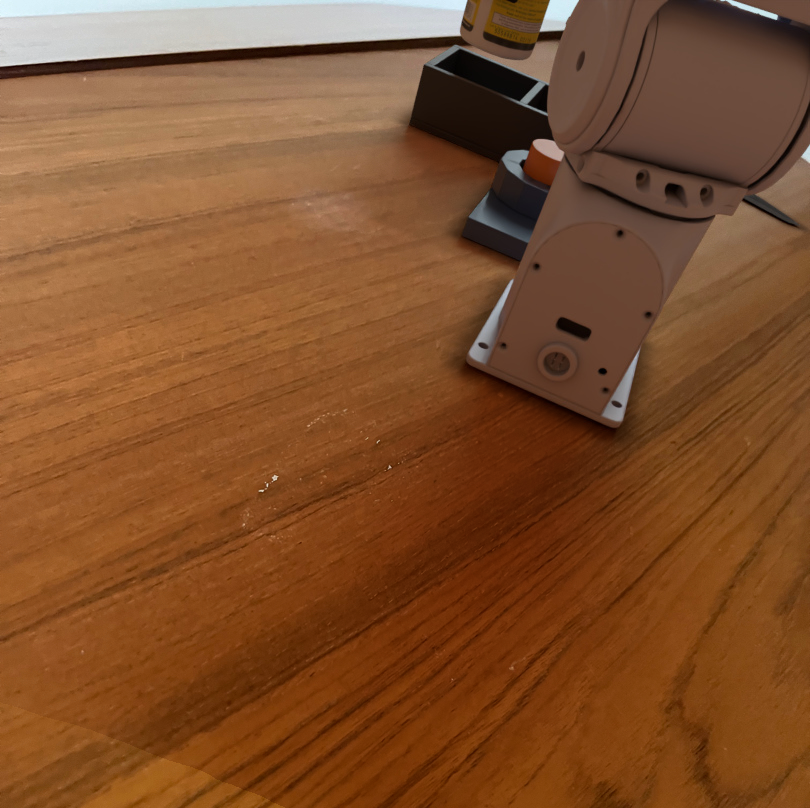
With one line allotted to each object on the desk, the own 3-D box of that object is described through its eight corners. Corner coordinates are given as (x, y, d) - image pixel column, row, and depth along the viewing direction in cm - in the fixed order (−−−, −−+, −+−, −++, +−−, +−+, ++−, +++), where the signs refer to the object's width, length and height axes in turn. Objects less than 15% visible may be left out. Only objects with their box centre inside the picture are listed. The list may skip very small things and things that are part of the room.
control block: (583, 288, 45) (606, 241, 42) (460, 235, 45) (476, 186, 43) (607, 232, 51) (627, 188, 49) (499, 186, 52) (515, 141, 49)
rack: (594, 203, 54) (620, 146, 51) (408, 124, 55) (423, 64, 52) (609, 171, 59) (633, 118, 57) (440, 99, 60) (455, 44, 57)
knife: (798, 230, 62) (801, 219, 64) (802, 225, 62) (804, 214, 64) (629, 151, 64) (637, 142, 66) (632, 145, 64) (639, 136, 66)
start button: (564, 197, 46) (576, 168, 45) (517, 176, 46) (527, 147, 45) (573, 181, 48) (585, 153, 47) (528, 161, 49) (538, 133, 47)
